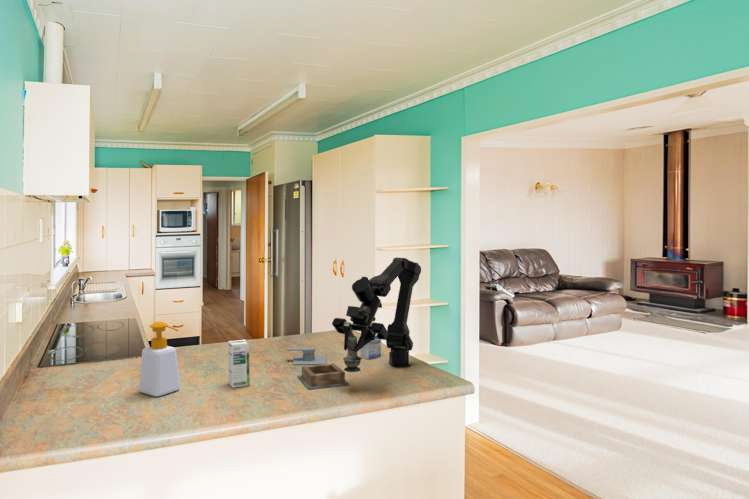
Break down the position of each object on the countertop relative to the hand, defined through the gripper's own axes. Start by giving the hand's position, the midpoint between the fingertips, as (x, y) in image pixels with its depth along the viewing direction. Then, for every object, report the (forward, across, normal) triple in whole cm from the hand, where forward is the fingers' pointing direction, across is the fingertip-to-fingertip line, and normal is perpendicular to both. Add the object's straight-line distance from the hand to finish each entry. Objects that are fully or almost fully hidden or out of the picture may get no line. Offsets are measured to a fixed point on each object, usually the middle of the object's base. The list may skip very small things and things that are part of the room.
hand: (350, 350), depth 175 cm
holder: (+7, -13, +12) cm, 19 cm away
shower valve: (-5, -33, +25) cm, 41 cm away
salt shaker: (+4, 0, +6) cm, 7 cm away
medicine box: (-18, -15, +38) cm, 44 cm away
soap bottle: (+32, -49, -13) cm, 60 cm away
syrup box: (+19, -34, 0) cm, 39 cm away
